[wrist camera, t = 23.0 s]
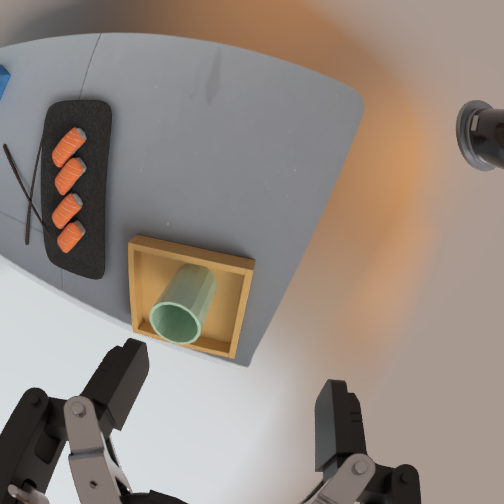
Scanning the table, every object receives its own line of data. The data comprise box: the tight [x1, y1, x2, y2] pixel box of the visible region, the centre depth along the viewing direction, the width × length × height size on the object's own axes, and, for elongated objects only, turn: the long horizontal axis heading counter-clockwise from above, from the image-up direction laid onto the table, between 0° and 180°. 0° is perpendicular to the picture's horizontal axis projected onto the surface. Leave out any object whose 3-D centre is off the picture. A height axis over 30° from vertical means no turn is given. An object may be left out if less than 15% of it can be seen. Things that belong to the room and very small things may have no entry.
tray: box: [128, 235, 255, 358], centre depth 41 cm, size 18×17×3 cm
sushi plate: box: [3, 100, 112, 279], centre depth 35 cm, size 29×30×4 cm
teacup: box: [149, 264, 217, 345], centre depth 36 cm, size 7×7×10 cm
